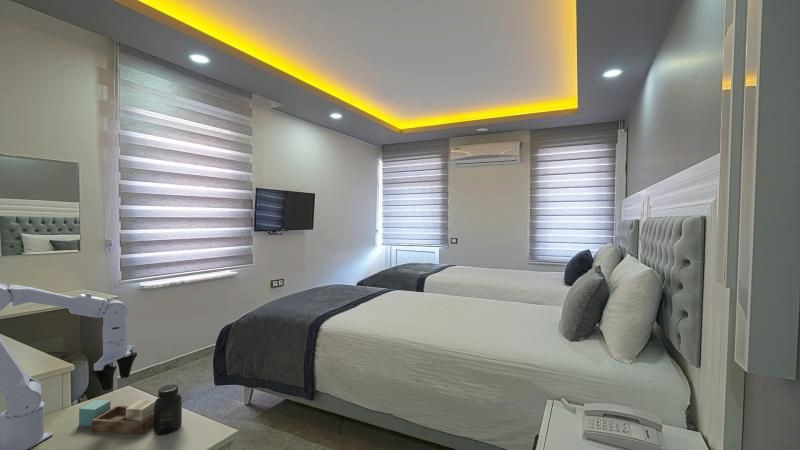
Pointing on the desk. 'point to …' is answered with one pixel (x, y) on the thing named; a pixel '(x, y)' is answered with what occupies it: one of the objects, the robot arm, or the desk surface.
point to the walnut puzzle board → (120, 422)
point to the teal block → (93, 411)
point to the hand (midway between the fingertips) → (116, 383)
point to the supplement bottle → (167, 410)
